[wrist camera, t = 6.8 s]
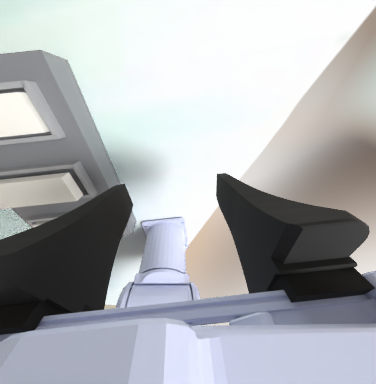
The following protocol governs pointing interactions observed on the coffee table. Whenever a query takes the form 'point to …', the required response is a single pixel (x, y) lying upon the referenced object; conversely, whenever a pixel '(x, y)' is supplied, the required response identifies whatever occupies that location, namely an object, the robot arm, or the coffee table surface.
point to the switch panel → (54, 134)
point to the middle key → (38, 190)
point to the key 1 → (19, 115)
